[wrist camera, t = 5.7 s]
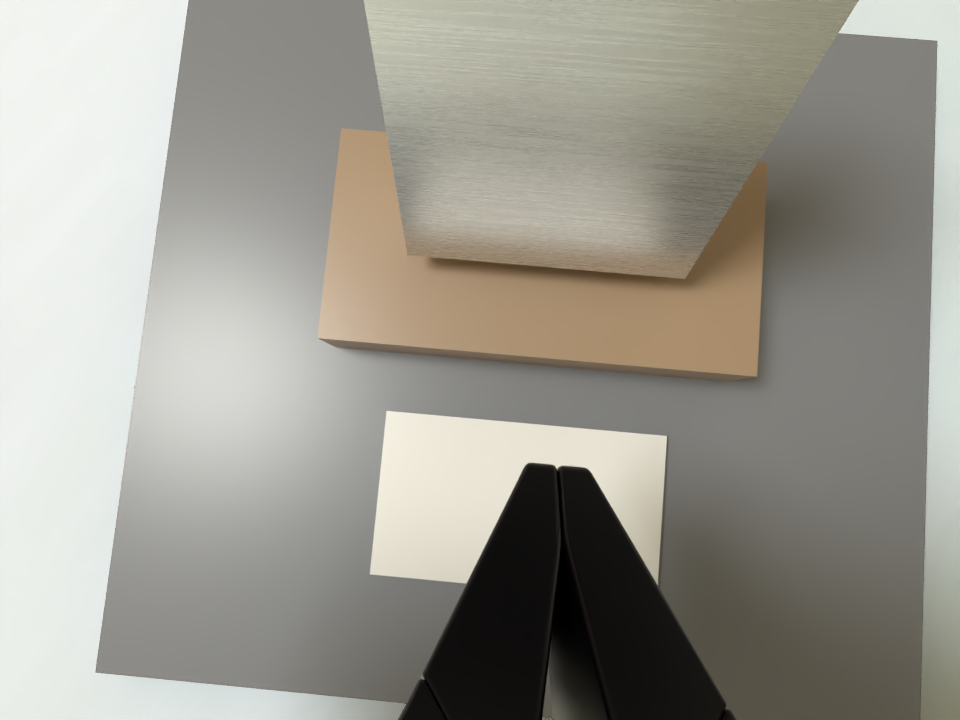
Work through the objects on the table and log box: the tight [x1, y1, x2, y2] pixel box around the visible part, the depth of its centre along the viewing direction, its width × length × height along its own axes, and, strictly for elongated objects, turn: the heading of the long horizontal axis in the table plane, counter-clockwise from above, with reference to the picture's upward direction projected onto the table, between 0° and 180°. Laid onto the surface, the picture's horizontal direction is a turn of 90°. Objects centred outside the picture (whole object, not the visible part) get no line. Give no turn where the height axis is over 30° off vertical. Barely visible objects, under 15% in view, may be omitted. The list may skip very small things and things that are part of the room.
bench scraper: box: [364, 0, 859, 279], centre depth 10 cm, size 2×7×9 cm, turn 85°
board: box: [96, 0, 937, 720], centre depth 16 cm, size 18×20×3 cm
